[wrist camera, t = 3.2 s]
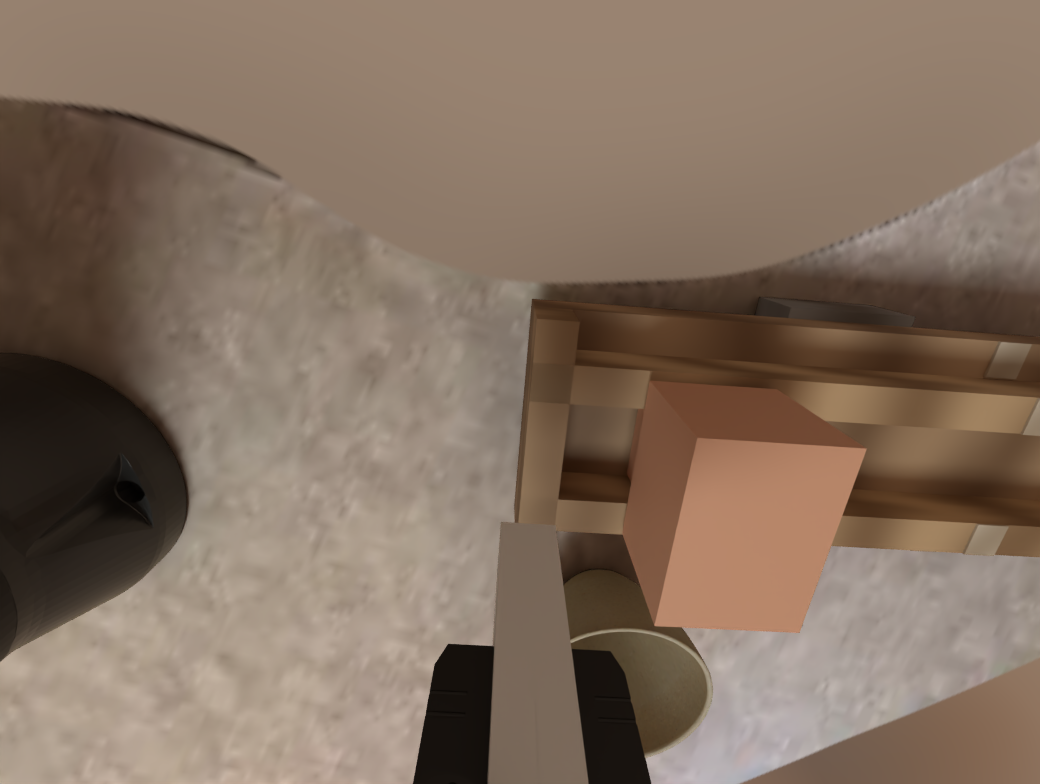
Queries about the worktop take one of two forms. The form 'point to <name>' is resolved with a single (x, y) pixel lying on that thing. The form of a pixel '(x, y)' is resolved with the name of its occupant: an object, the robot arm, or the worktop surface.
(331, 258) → the worktop surface
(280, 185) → the worktop surface
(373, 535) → the worktop surface
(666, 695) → the flower pot
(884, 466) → the wooden crate
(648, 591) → the block
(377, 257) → the worktop surface
